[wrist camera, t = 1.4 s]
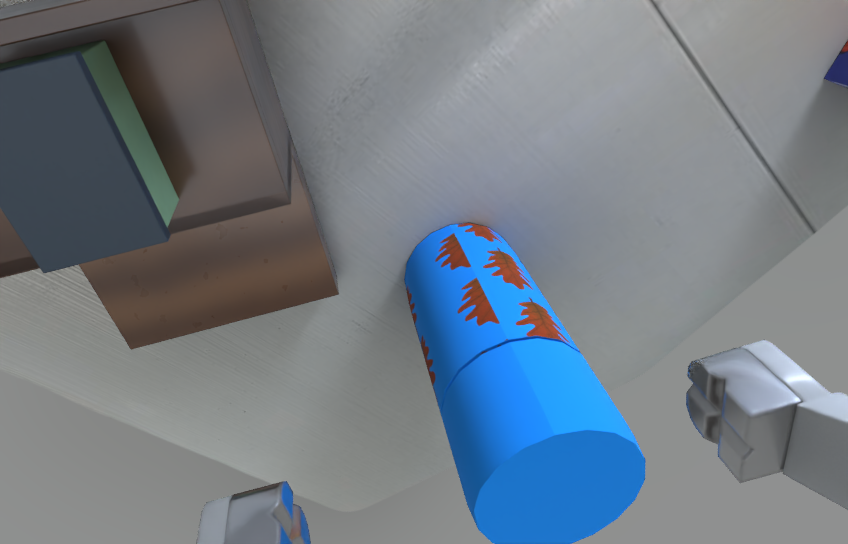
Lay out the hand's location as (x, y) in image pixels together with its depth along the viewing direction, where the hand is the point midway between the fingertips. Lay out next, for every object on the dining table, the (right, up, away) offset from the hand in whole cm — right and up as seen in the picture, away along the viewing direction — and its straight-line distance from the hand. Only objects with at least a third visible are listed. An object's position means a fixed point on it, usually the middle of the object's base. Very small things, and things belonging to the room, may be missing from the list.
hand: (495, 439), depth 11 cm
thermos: (+2, +3, +43) cm, 43 cm away
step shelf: (-20, +11, +33) cm, 41 cm away
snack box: (-19, +10, +20) cm, 29 cm away
